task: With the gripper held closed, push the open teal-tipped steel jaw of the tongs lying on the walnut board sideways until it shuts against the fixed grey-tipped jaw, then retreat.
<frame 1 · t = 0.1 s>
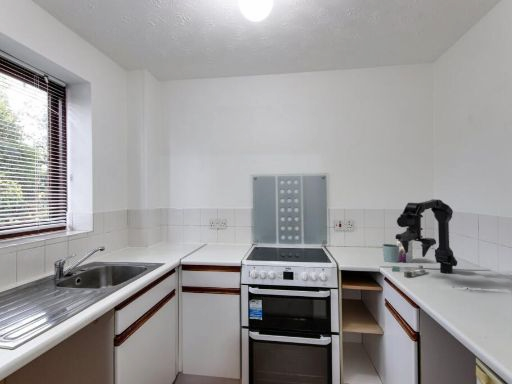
hand: (414, 254, 135), 15 cm above the worktop, fingers open, 9 cm apart
hinged jaw: (404, 269, 147), point 3 cm above the worktop, hinge at -35.0°
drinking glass: (390, 263, 170), on the worktop
candy bar box: (404, 262, 173), on the worktop
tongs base: (420, 274, 146), on the worktop
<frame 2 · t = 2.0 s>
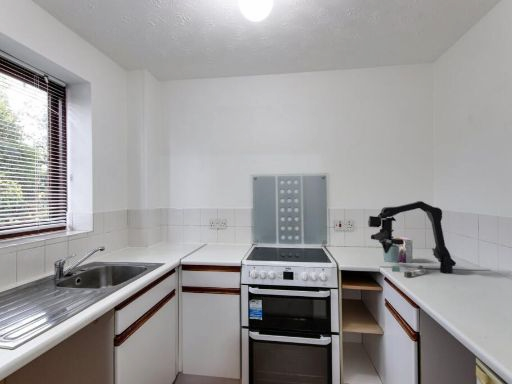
hand: (386, 253, 153), 11 cm above the worktop, fingers closed
nothing on the worktop moved.
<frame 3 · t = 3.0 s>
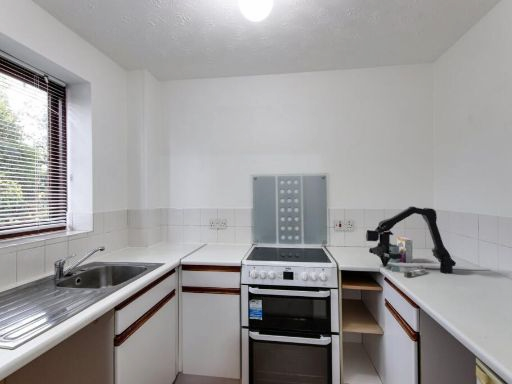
hand: (384, 266, 154), 2 cm above the worktop, fingers closed
nothing on the worktop moved.
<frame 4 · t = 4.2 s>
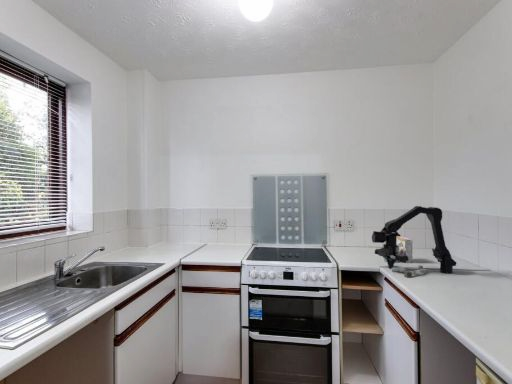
hand: (390, 268, 150), 2 cm above the worktop, fingers closed
hinged jaw: (404, 269, 147), point 3 cm above the worktop, hinge at -33.4°, touching gripper
everything else where it was.
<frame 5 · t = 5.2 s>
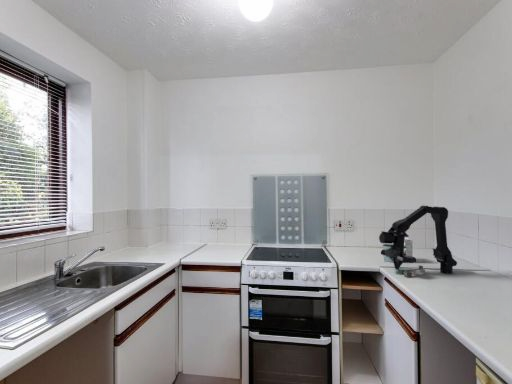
hand: (396, 270, 145), 3 cm above the worktop, fingers closed
hinged jaw: (407, 271, 145), point 3 cm above the worktop, hinge at -15.6°, touching gripper
everything else where it was.
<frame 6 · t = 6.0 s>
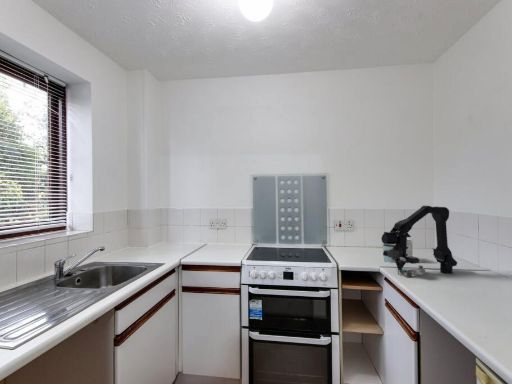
hand: (399, 271, 144), 3 cm above the worktop, fingers closed
hinged jaw: (408, 271, 144), point 3 cm above the worktop, hinge at -9.0°, touching gripper
everything else where it was.
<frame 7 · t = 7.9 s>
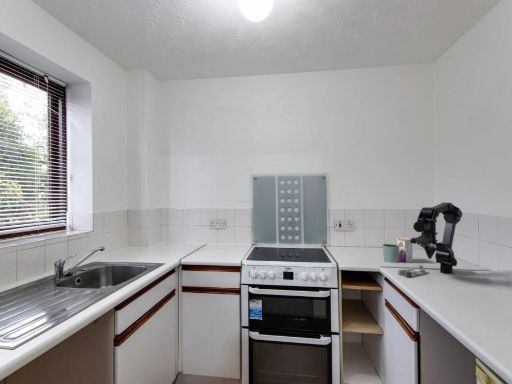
hand: (429, 258, 138), 12 cm above the worktop, fingers closed
hinged jaw: (408, 271, 144), point 3 cm above the worktop, hinge at -8.8°
everything else where it was.
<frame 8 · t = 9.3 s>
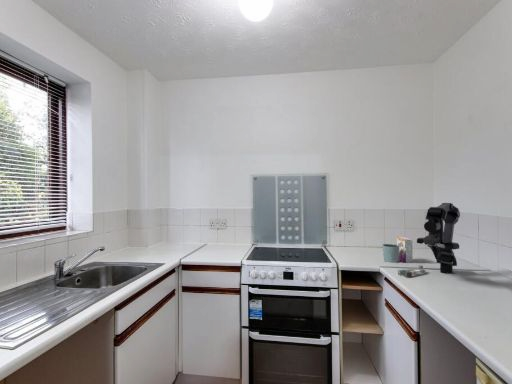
hand: (436, 258, 136), 12 cm above the worktop, fingers closed
nothing on the worktop moved.
at the end: hinged jaw at -9° (first picture: -35°) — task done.
